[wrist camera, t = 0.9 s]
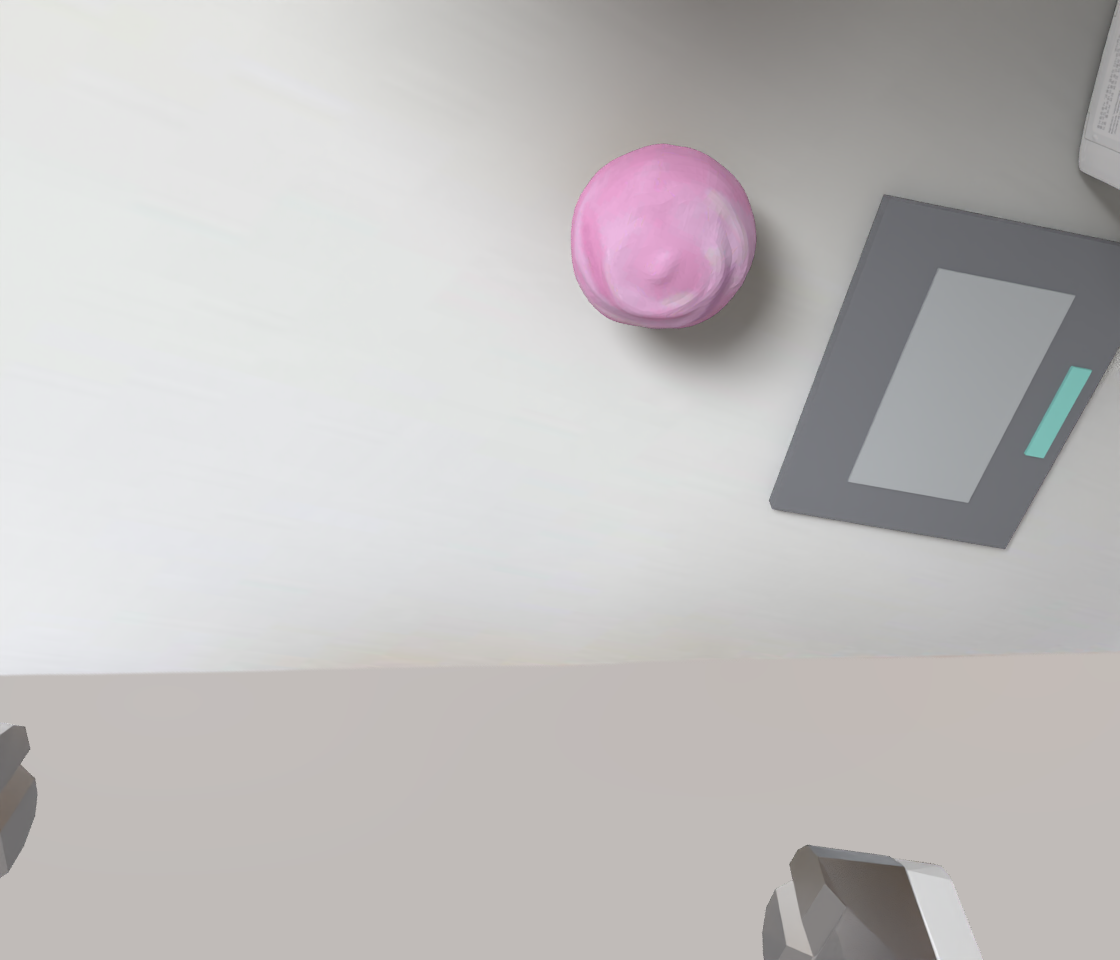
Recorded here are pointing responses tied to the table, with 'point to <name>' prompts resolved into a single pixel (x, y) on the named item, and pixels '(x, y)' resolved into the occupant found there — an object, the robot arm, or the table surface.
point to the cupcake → (662, 237)
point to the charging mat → (953, 373)
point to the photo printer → (1104, 115)
